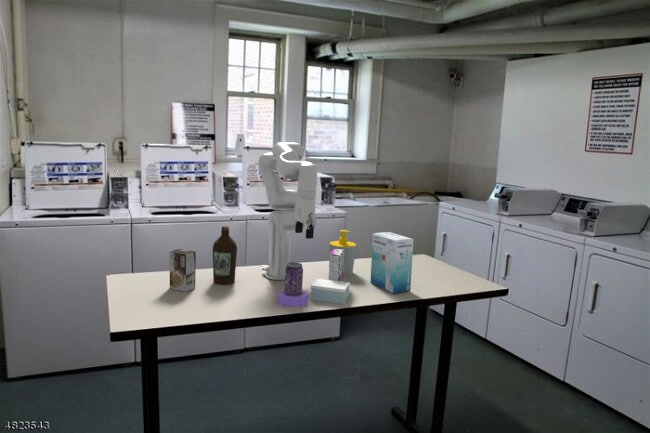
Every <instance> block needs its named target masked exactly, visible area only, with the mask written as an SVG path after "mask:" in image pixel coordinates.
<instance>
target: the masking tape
mask: <svg viewBox="0 0 650 433" xmlns="http://www.w3.org/2000/svg"><path fill="white" fill-rule="evenodd" d="M308 296H309V294H308V292H307V291H305V290H303V289H302V292H301V293H300V294H298V295H289V294H287V293H285V292H284V289H283V290H280V291H279V292H278V303H279V304H280V305H282V306H285V307H292V308H294V307H303V306H305V305H307V304H308V300H309V299H308Z"/></svg>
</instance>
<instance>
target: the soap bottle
mask: <svg viewBox="0 0 650 433" xmlns="http://www.w3.org/2000/svg"><path fill="white" fill-rule="evenodd" d="M339 232H340V237H338V238H339V239H338V240H333V241H330V242H329V255H330V254H331V252H332V251H333V250H334V249H342V250H344V265H343V277H347V276H351V275H353V273H354V266H355V265H354V264H355V257H356V248H357V243H355V242H352V241H348V237H347V236H346V235H347V233H348V234H351V233H352V232H351V231H349V230H345V229H340V230H339Z"/></svg>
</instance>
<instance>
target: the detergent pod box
mask: <svg viewBox="0 0 650 433" xmlns="http://www.w3.org/2000/svg"><path fill="white" fill-rule="evenodd" d="M350 284H351V283H350V282H346V281H343V282H339V281H331V280H329V279H323V278H316V280H315V281H314V282H313V283H312V284H311V285H310V300H311V301H318V302H319V301H320V302H326V303H333V304H340V305H341V304H342V305H344V304H345V303H346V301H347V300H348V298H349V296H350Z"/></svg>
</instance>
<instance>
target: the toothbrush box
mask: <svg viewBox="0 0 650 433" xmlns="http://www.w3.org/2000/svg"><path fill="white" fill-rule="evenodd" d="M371 243H372V244H371V245H372V246H371V260H370V261H371V267H370V284H371V285H373V286H376V287H378V288H380V289H382V290H384V291H387V292H389V293H391V294H398V293H400V294H401V293H405V292H411V289H412V288H411V286H412V271H413V270H412V268H413V253H414V238H411V237H408V236H404V235H400V234H397V233H394V232H390V231H387V232H386V231H385V232H375V233H374V232H373V233H372V242H371Z"/></svg>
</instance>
